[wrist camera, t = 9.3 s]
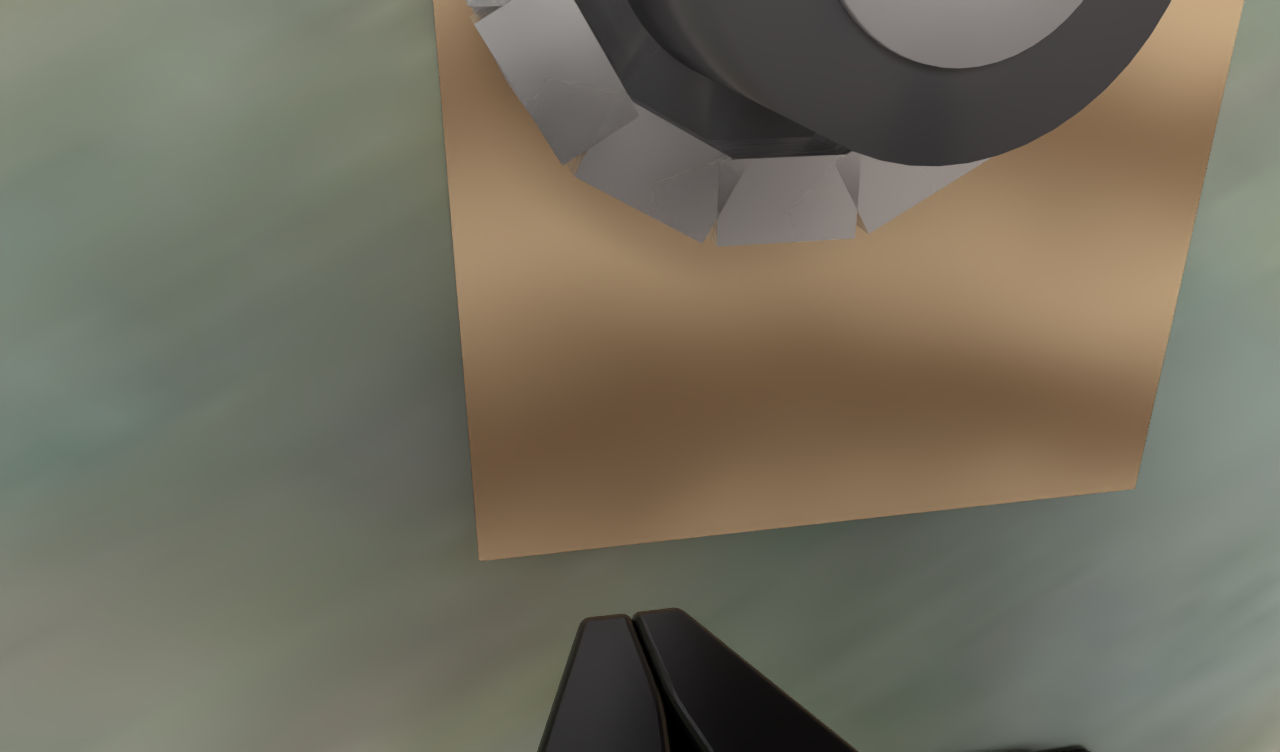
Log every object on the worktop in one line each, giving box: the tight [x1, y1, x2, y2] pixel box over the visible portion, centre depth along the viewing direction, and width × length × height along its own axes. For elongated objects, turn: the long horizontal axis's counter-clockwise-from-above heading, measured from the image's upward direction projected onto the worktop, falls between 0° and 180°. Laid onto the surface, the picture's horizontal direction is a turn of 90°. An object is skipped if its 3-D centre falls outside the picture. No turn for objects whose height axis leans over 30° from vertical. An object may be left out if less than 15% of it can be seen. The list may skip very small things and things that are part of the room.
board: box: [433, 0, 1244, 561], centre depth 19 cm, size 18×15×1 cm
